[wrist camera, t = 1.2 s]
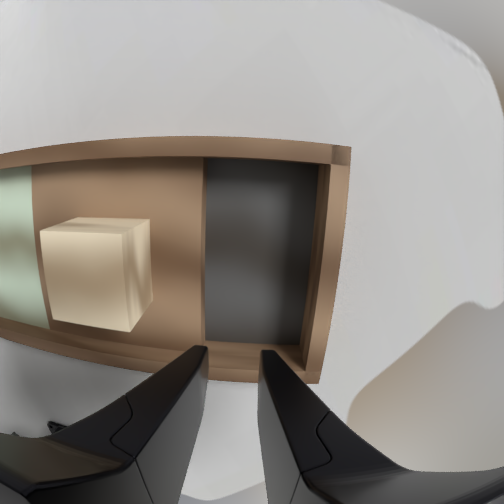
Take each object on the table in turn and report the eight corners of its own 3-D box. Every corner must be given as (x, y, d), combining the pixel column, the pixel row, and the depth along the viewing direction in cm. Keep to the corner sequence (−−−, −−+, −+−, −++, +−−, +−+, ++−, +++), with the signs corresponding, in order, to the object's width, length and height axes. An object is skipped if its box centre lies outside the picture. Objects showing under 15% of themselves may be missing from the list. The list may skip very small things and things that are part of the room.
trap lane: (310, 353, 21) (318, 383, 18) (-36, 302, 21) (-56, 315, 18) (334, 150, 18) (351, 147, 14) (-53, 170, 18) (-77, 173, 14)
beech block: (153, 300, 18) (130, 332, 14) (84, 292, 18) (52, 319, 14) (149, 219, 17) (121, 234, 13) (77, 217, 17) (39, 230, 13)
